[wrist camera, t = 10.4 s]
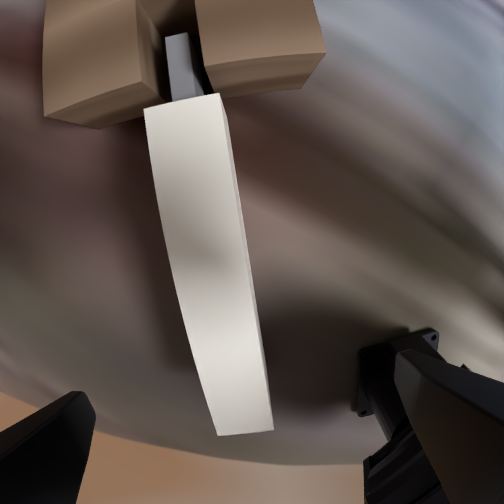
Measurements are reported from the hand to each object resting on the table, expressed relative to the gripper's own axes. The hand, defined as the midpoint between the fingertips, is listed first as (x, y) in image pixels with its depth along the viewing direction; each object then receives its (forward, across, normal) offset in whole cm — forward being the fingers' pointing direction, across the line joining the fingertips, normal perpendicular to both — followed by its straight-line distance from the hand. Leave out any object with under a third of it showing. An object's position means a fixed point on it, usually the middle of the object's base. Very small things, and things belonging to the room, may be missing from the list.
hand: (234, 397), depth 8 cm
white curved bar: (+11, +1, -3) cm, 12 cm away
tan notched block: (+11, +1, -15) cm, 19 cm away
